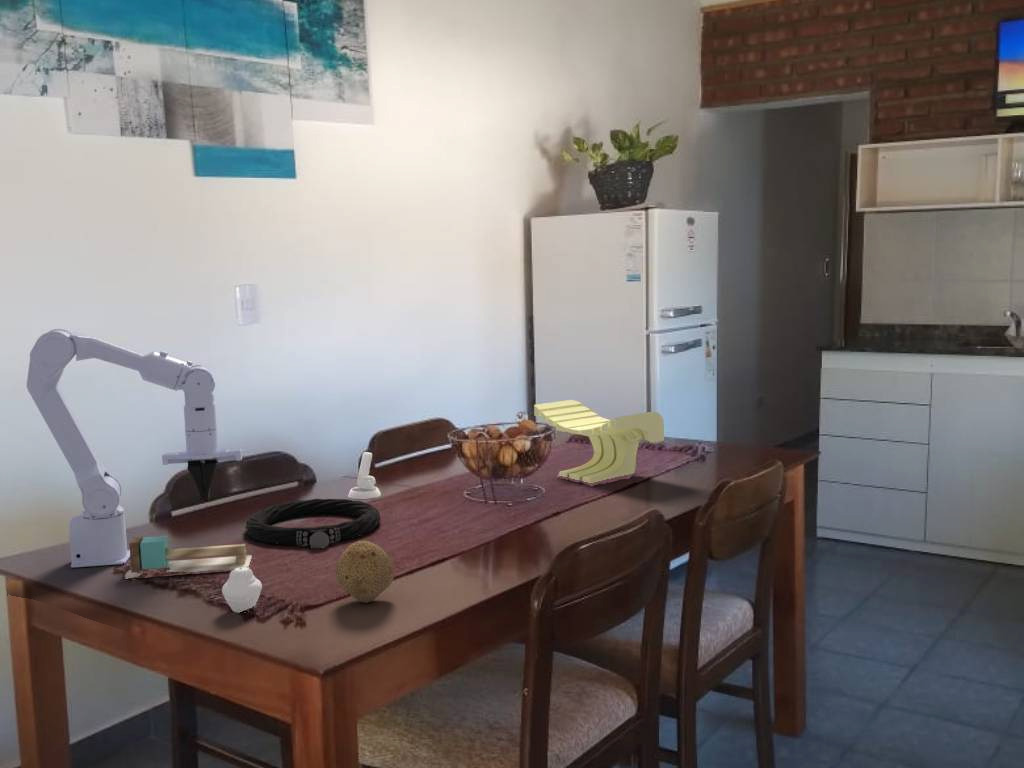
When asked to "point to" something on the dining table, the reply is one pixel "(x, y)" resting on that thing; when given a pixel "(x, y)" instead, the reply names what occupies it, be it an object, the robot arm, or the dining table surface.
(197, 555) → the rail
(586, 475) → the slatted curved stool
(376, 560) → the natural sponge
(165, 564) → the slider
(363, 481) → the white joystick
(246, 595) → the white faceted lump
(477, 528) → the dining table surface
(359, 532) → the cable lock
